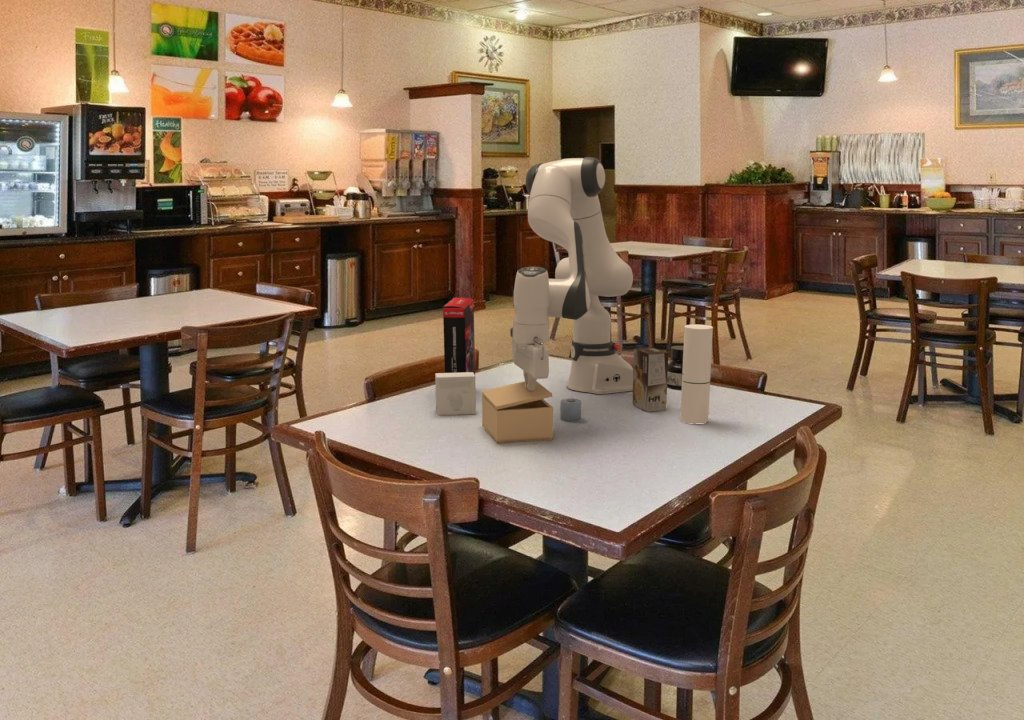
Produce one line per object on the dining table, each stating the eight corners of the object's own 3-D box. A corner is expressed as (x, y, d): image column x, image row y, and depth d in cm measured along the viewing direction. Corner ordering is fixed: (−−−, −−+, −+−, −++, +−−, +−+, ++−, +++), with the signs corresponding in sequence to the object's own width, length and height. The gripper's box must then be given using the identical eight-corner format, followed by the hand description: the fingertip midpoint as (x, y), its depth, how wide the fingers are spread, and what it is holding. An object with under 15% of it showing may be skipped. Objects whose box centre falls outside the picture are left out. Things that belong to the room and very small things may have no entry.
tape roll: (577, 416, 249) (577, 397, 248) (583, 421, 244) (584, 402, 243) (557, 417, 248) (558, 398, 247) (563, 422, 242) (564, 403, 241)
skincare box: (473, 408, 256) (473, 371, 254) (476, 414, 250) (476, 376, 248) (435, 409, 254) (434, 372, 252) (436, 415, 248) (436, 377, 246)
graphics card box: (467, 402, 263) (467, 306, 257) (443, 401, 263) (442, 305, 258) (475, 388, 279) (475, 297, 274) (452, 387, 280) (452, 297, 274)
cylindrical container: (704, 417, 248) (709, 324, 243) (710, 424, 241) (715, 329, 236) (677, 417, 248) (681, 324, 243) (683, 424, 241) (687, 329, 236)
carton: (534, 422, 242) (535, 392, 241) (552, 439, 227) (553, 407, 225) (482, 425, 239) (482, 395, 237) (496, 443, 224) (496, 410, 222)
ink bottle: (658, 385, 285) (660, 346, 282) (680, 381, 289) (681, 343, 287) (681, 391, 277) (682, 352, 274) (702, 388, 281) (704, 349, 279)
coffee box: (667, 410, 255) (669, 352, 252) (646, 412, 253) (648, 354, 250) (651, 402, 264) (653, 346, 261) (630, 404, 262) (632, 348, 258)
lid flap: (534, 382, 240) (533, 379, 240) (552, 396, 225) (552, 393, 225) (482, 394, 237) (481, 391, 237) (496, 409, 222) (496, 406, 222)
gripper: (556, 340, 219) (554, 398, 222) (532, 327, 239) (531, 380, 241) (530, 341, 218) (529, 399, 220) (508, 328, 237) (507, 381, 240)
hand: (530, 389), depth 231 cm, fingers closed, pressing on lid flap
